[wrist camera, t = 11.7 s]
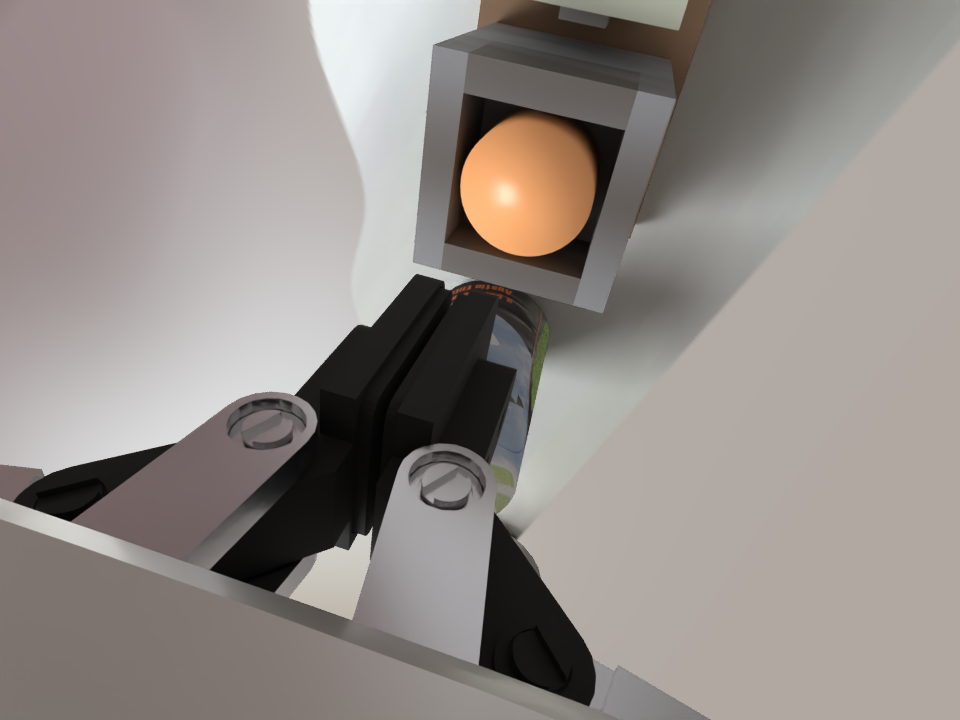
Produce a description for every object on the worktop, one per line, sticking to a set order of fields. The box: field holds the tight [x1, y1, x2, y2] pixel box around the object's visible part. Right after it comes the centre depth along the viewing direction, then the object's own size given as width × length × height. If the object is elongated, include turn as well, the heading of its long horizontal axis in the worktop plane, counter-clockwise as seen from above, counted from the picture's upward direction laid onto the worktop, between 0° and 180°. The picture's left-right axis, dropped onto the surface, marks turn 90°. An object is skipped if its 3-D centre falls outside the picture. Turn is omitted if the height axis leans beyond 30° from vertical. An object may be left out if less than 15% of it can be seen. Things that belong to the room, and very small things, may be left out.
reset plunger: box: [460, 107, 601, 256], centre depth 18 cm, size 4×4×2 cm
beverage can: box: [450, 280, 549, 514], centre depth 26 cm, size 6×7×12 cm
